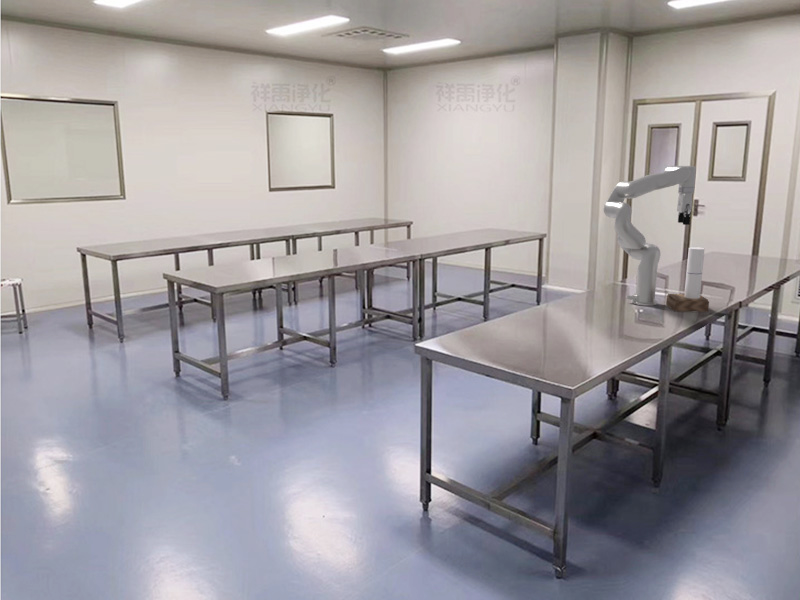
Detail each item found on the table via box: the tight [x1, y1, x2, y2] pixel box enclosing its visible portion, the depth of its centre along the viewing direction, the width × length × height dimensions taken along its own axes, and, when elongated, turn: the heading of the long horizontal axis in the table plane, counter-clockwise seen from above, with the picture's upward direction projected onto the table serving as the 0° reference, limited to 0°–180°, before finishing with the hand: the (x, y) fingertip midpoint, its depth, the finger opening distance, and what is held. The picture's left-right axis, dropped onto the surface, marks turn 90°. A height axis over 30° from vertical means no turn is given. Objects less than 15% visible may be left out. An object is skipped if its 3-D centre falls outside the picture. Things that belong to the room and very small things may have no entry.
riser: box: [665, 293, 710, 313], centre depth 321 cm, size 16×14×6 cm
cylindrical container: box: [684, 246, 705, 299], centre depth 317 cm, size 7×7×25 cm
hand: (683, 223), depth 329 cm, fingers open, 9 cm apart
